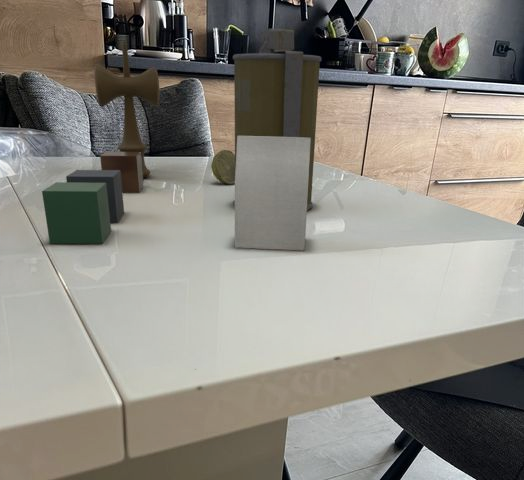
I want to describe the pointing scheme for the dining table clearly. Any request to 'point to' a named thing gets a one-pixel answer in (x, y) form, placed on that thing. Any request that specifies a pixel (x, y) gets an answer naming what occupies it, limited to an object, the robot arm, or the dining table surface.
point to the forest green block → (77, 213)
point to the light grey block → (271, 192)
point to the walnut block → (125, 169)
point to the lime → (224, 166)
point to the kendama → (128, 99)
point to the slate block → (113, 188)
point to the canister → (277, 92)
